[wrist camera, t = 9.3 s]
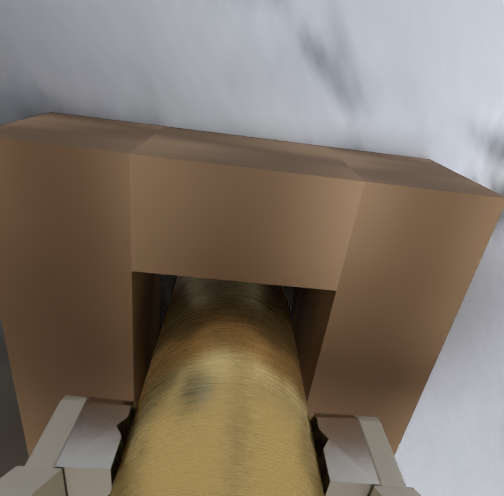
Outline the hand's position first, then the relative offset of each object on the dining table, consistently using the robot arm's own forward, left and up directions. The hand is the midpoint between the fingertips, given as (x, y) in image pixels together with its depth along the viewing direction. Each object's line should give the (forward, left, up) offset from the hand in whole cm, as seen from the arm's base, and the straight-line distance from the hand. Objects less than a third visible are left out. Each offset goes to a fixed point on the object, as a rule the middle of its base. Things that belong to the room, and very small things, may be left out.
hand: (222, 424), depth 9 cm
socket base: (0, -4, -6) cm, 7 cm away
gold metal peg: (0, 0, -6) cm, 6 cm away
